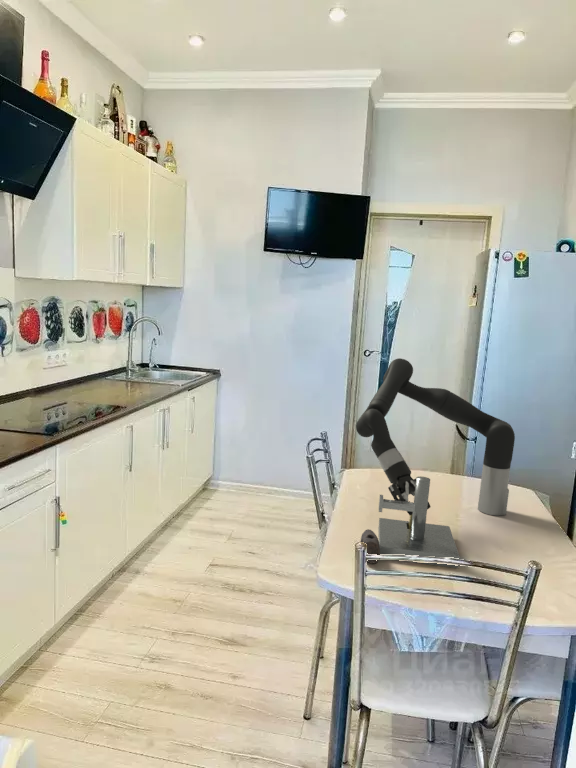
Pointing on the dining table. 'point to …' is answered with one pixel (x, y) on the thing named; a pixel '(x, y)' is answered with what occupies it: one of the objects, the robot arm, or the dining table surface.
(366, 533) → the perforated stone tool
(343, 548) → the dining table surface
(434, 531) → the rosette post
